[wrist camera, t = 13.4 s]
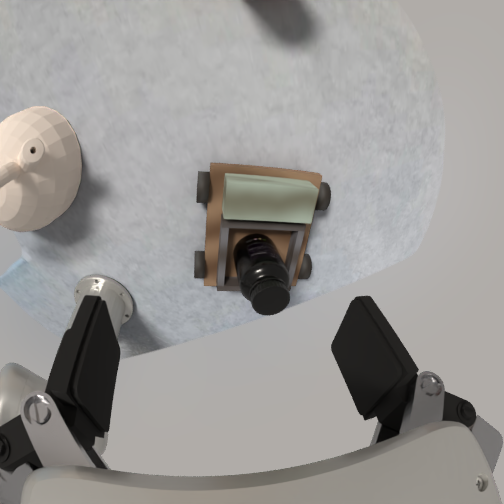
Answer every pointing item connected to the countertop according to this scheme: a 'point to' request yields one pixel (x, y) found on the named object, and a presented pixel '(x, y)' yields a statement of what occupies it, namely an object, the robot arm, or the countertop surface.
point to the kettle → (37, 168)
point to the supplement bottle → (261, 274)
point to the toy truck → (257, 217)
